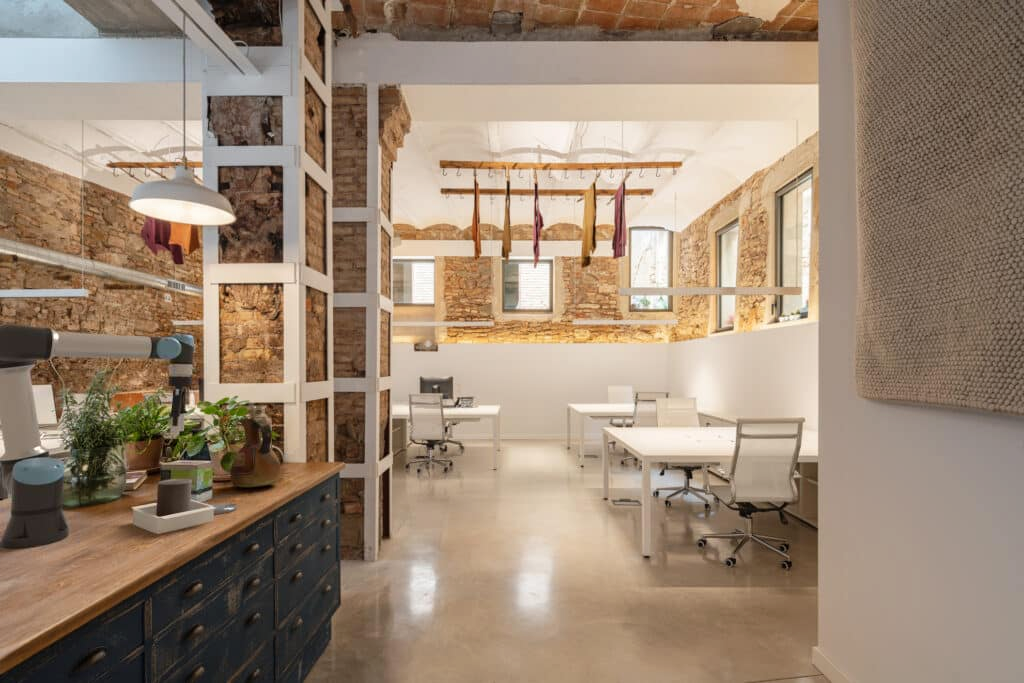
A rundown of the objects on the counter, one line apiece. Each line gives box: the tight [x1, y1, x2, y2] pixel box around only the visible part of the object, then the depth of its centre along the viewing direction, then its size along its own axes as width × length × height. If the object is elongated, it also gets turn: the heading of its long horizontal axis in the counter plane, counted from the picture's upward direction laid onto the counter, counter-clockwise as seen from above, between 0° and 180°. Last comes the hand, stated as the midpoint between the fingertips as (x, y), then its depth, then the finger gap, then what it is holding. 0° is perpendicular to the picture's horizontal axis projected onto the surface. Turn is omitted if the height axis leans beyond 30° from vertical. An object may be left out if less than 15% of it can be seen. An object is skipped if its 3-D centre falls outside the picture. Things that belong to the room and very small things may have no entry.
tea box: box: [159, 460, 214, 503], centre depth 213 cm, size 15×10×15 cm, turn 84°
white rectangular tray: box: [130, 500, 217, 535], centre depth 184 cm, size 17×23×5 cm
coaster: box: [210, 502, 238, 516], centre depth 200 cm, size 12×12×1 cm
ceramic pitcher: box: [229, 416, 282, 488], centre depth 238 cm, size 20×20×30 cm
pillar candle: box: [156, 477, 192, 517], centre depth 184 cm, size 10×10×15 cm
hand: (177, 433), depth 207 cm, fingers open, 13 cm apart
